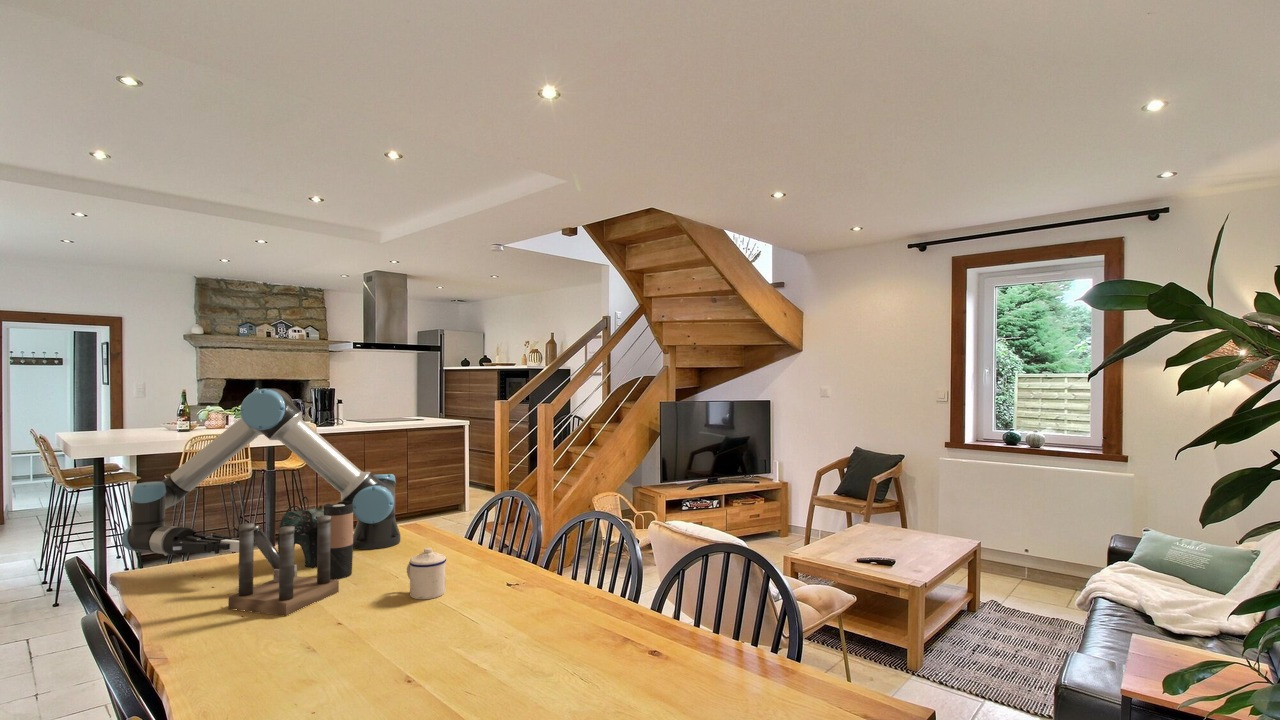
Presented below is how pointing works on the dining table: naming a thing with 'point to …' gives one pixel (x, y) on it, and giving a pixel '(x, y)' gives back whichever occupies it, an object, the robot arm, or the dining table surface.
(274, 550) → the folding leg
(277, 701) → the dining table surface
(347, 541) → the travel mug
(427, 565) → the teacup with lid
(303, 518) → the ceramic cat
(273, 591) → the stool
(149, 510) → the robot arm
